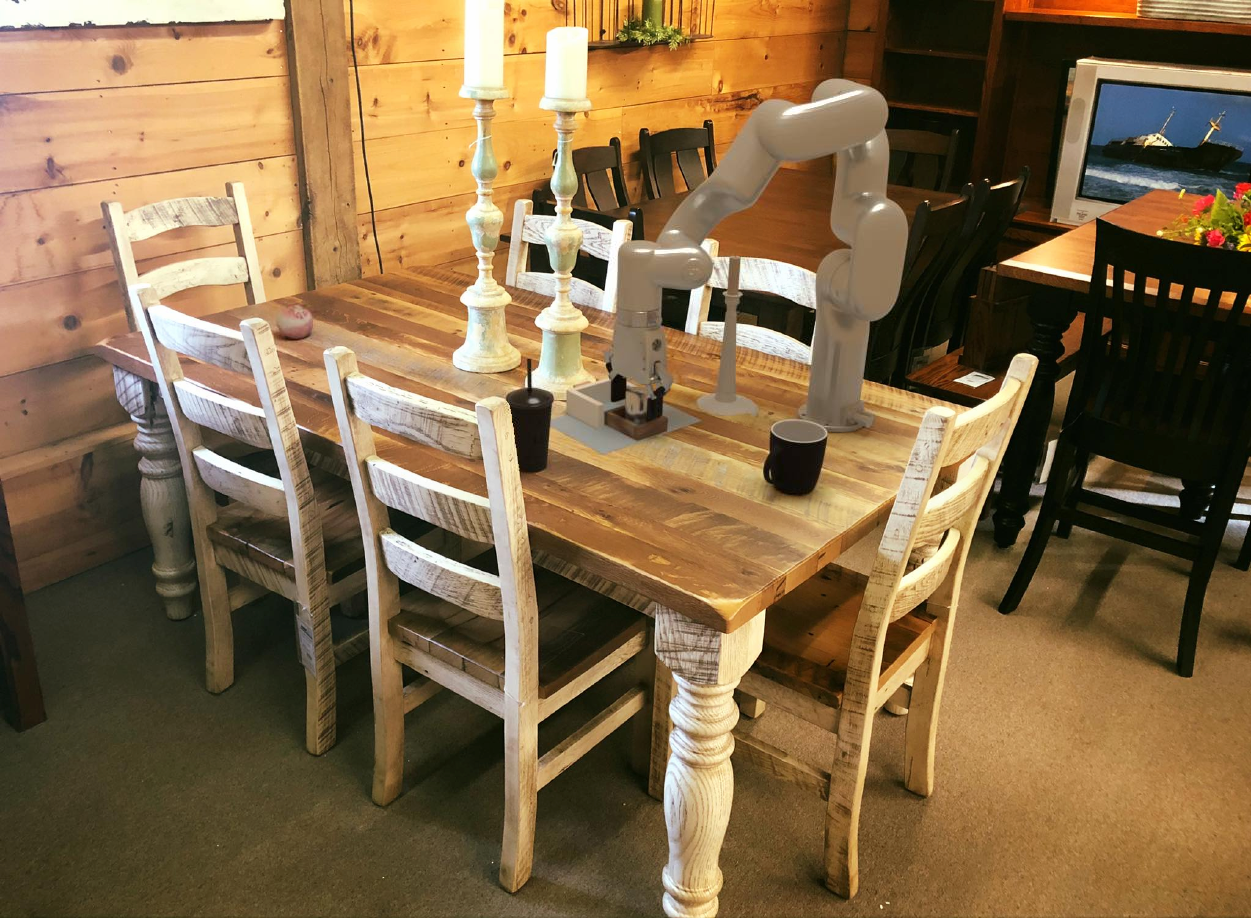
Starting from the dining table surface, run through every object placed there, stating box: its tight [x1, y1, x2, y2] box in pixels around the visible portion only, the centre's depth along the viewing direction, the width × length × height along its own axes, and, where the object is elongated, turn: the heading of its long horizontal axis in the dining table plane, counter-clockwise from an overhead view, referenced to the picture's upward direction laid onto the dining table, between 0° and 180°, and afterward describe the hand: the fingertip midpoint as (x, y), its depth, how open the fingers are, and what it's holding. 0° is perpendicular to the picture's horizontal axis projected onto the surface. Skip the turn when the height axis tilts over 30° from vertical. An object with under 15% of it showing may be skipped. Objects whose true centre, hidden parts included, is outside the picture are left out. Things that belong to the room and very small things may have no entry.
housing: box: [565, 377, 639, 429], centre depth 193 cm, size 12×11×4 cm
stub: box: [625, 386, 649, 425], centre depth 186 cm, size 4×4×7 cm
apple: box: [276, 304, 314, 341], centre depth 229 cm, size 8×8×7 cm
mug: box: [762, 418, 829, 497], centre depth 168 cm, size 12×9×10 cm
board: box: [550, 395, 702, 455], centre depth 190 cm, size 17×23×2 cm
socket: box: [604, 405, 668, 441], centre depth 187 cm, size 9×7×2 cm
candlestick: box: [696, 253, 760, 418], centre depth 192 cm, size 13×13×30 cm
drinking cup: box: [505, 358, 555, 474], centre depth 169 cm, size 8×8×20 cm
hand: (636, 408), depth 186 cm, fingers open, 9 cm apart
